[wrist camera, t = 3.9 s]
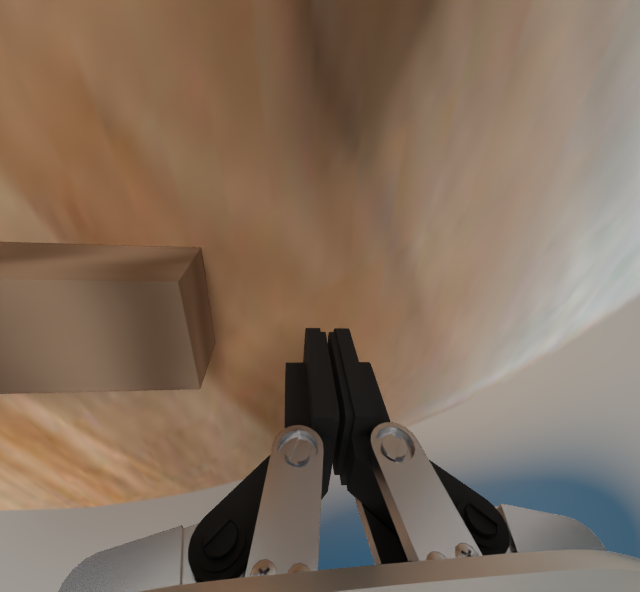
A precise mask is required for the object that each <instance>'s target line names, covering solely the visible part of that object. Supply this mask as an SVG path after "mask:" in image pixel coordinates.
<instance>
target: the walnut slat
mask: <svg viewBox="0 0 640 592" xmlns="http://www.w3.org/2000/svg"><path fill="white" fill-rule="evenodd" d="M214 345H215V338H214V331H213V324H212V318H211V311H210V304H209V298H208V291H207V285H206V278H205V271H204V265H203V258H202V251H201V248H196V247H161V246H126V245H91V244H56V243H21V242H0V394H11V393H53V392H95V391H138V390H180V389H200V388H201V385H202V382H203V379H204V376H205V373H206V370H207V367H208V364H209V360H210V357H211V354H212V351H213V348H214Z"/></svg>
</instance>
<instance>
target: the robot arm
mask: <svg viewBox="0 0 640 592" xmlns="http://www.w3.org/2000/svg"><path fill="white" fill-rule="evenodd" d="M332 463H333V469H334V474H335V475H340V480H341V485H347V490H348V491H349V492H350V493H351V494H352V495H353V496H354V497H356V504H357V508H358V511H359V514H360V518H361V521H362V524H363V527H364V531H365V534H366V537H367V540H368V543H369V547H370V550H371V553H372V556H373V559H374V563H375V565H372V566H360V567H349V568H338V569H328V570H318V553H319V534H320V512H321V500H322V498H323V497H324V496H325V494H326V493H327V491H328V486H329V480H330V474H331V469H332ZM59 592H640V559H638V558H635V557H631V556H628V555H624V554H619V553H614V552H608V551H607V550H606V548H605V547H604V546H603V544H602V543H601V541H600V540H599V538H598V537H597V536H596V535H595V534H594V533H593V532H592V531H591V530H590V529H589V528H587V527H586V526H585V525H583V524H581V523H580V522H578V521H577V520H574V519H572V518H569V517H566V516H561V515H555V514H551V513H546V512H540V511H535V510H531V509H526V508H521V507H515V506H510V505H505V504H500V505H499V507H497V506H493V505H492V504H491V503H490V502H489V501H488V500H486V499H485V498H484V497H482V496H481V495H479V494H478V493H476V492H475V491H473V490H472V489H471V488H469V487H468V486H466V485H465V484H463V483H462V482H460V481H459V480H457V479H456V478H455V477H453V476H452V475H450V474H449V473H447V472H446V471H444V470H443V469H441V468H440V467H438V466H437V465H436V464H434V463H433V462H431V461H430V460H428V458H427V456H426V454H425V452H424V451H423V449H422V447H421V445H420V444H419V442H418V440H417V439H416V437H415V436H414V434H413V433H412V432H410V431H409V430H408V429H407V428H406V427H404V426H402V425H400V424H397V423H393V422H390V419H389V416H388V413H387V410H386V407H385V405H384V402H383V399H382V396H381V393H380V390H379V387H378V384H377V381H376V378H375V375H374V372H373V369H372V367H371V364H370V363H369V362H359V361H358V357H357V354H356V350H355V347H354V344H353V340H352V337H351V333H350V330H349V329H341V328H335V329H334V332H329V335H328V344H327V338H326V333H325V332H321V331H320V328H306V330H305V344H304V359H303V363H286V372H285V429H284V430H282V431H281V432H280V433H279V434H278V435H277V436H276V438H275V440H274V443H273V445H272V450H271V455H269V456H268V457H267V458H266V459H265V460H264V461H263V462H262V463H261V464H260V465H259V466H258V467H257V468H256V469H255V470H254V471H253V472H252V473H250V474H249V475H248V476H247V477H246V478H245V479H244V480H243V481H242V482H241V483H240V484H239V485H238V486H237V487H236V488H235V489H234V490H233V491H232V492H231V493H229V494H228V496H226V497H225V498H224V499H223V500H222V501H221V502H220V503H219V504H218V505H217V506H216V507H215V508H214V509H213V510H212V511H210V512H209V513H208V514H207V515H206V516H205V517H204V518H203V519H202V521H201V522H200V523H199V524H196V525H193V526H190V527H187V528H183V526H179V527H176V528H173V529H170V530H167V531H163V532H160V533H157V534H154V535H151V536H148V537H145V538H142V539H139V540H135V541H133V542H129V543H126V544H123V545H120V546H117V547H114V548H111V549H108V550H104V551H102V552H98V553H96V554H94V555H92V556H90V557H88V558H86V559H85V560H84V561H82V562H81V563H80V564H79V565H78V566H77V567H75V569H73V570H72V571H71V573H70V574H69V575H68V577H67V578H66V580H65V581H64V582H63V583H62V585H61V588H60V590H59Z"/></svg>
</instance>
